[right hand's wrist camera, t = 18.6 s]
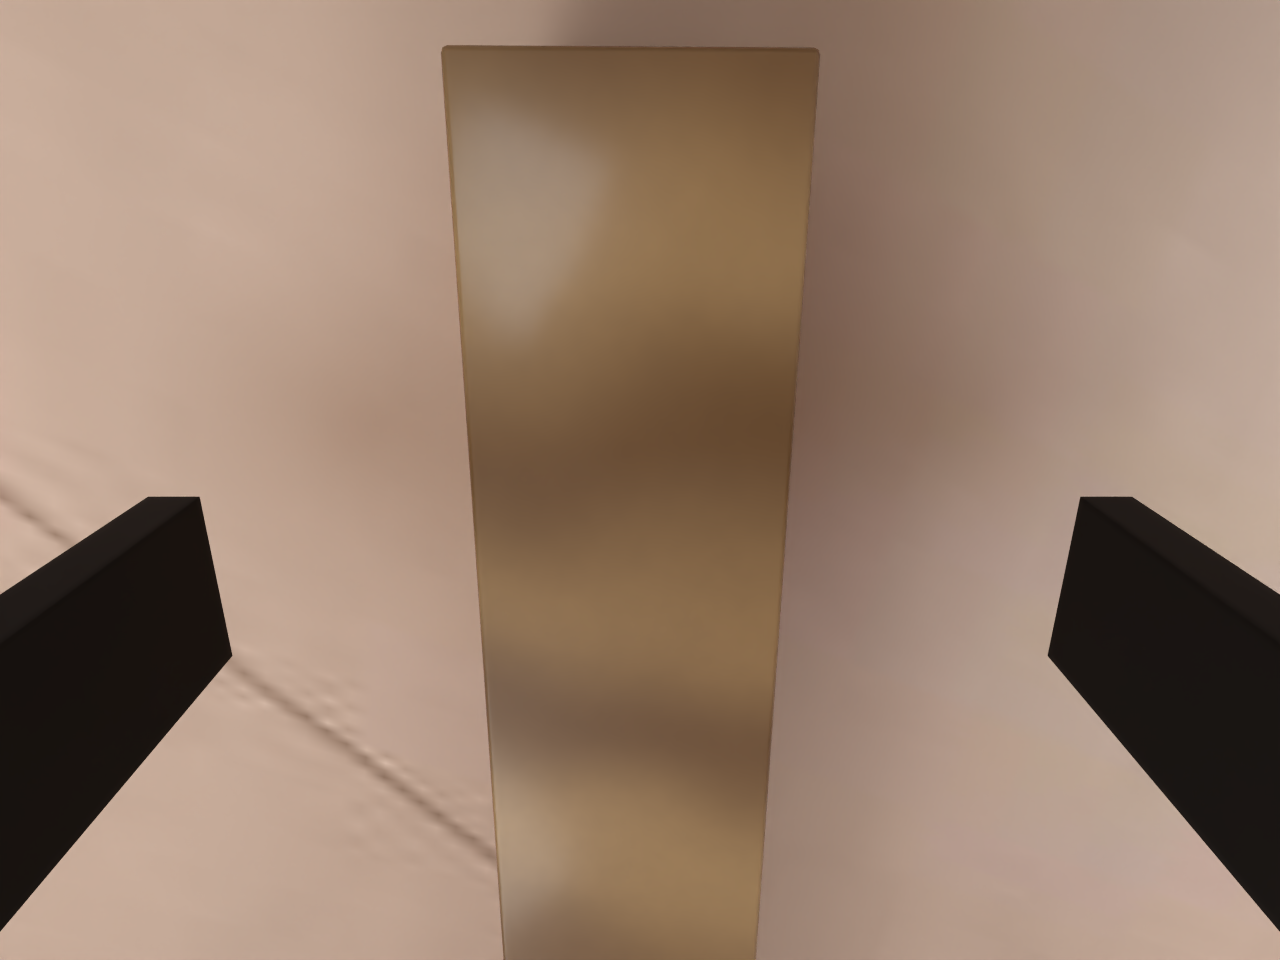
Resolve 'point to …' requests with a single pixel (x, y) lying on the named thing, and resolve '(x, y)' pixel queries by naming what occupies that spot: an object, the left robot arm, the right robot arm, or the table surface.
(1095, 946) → the table surface
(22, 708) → the right robot arm
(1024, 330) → the table surface
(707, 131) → the post
